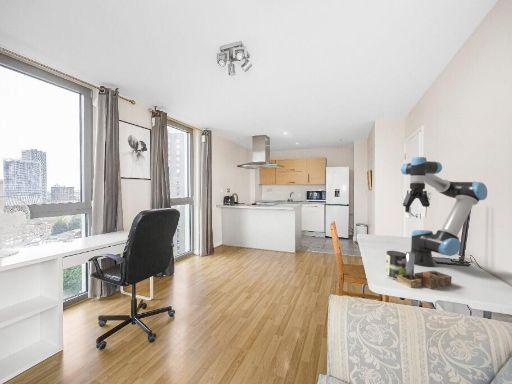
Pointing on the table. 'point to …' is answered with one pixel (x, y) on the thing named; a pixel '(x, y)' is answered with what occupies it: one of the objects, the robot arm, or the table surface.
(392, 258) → the coffee can
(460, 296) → the table surface
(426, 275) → the button
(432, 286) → the socket block
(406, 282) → the open wooden tray
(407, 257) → the peg
